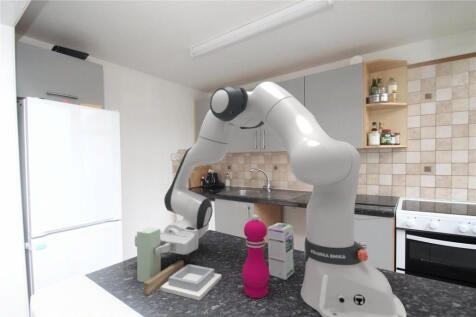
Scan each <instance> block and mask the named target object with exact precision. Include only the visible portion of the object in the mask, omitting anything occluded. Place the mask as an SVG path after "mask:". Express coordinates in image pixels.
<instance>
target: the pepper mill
mask: <svg viewBox="0 0 476 317" xmlns="http://www.w3.org/2000/svg"><path fill="white" fill-rule="evenodd" d="M259 218H260V217H259V216H258V214H252V216H251V220H249V221H247V222H246V223H245V225H244V226H243V234H244V236H245V237H246V239H245V245H246V247H247V257H246V260H245V263H244V264H243V267H242V272H241V278H242V280H243V282H244V284H243V292H244V294H245V295H246V296H247V297H250V298H255V299H259V298H263V297H265V296H266V295H267V294H269V284H268V281H270V278H271V275H270V273H269V265H268V263H267V262H266V260H265V255H264V247H265V245H266V239H265V237H266V236H267V235H268V227H267V225H266V224H265V223H264V222H263V221H262V220H259Z"/></svg>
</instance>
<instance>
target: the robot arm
mask: <svg viewBox="0 0 476 317" xmlns="http://www.w3.org/2000/svg"><path fill="white" fill-rule="evenodd" d="M209 108H210V109H209V110H208V111H207V112H206V115H205V117H204V119H203V122H202V124H201V127H200V130H199V133H198V137H197V139H196V142H195V143H194V145H193V146H192V147H189V148H187V150H186V151H185V153H184V155H183V156H182V158H181V161H180V163H179V166H178V168H177V170H176V173H175V175H174V177H173V180H172V182H171V185H170V186H169V188H168V190H167V192H166V193H165V195H164V199H163V200H164V202H163V203H164V206H165V208H166V210H167V211H168V212H171V213H174V214H177V215H179V216H180V217H182V218H183V219H181V220H179V221H177V222H174V223H171V224H169V225H167V226H166V227H165V228H164V230H163V231H161V230H160V246H157V247H155V248H153V254H156V255H158V254H160V255H161V254H164V253H173V254H179V255H188V254H190V253H192V252H193V251H196V250H198V249H199V239H200V238H202V237H203V236H204V235H205V234H206V233H207V232H208V230H209V225H210V224H209V223H210V221H211V218H212V215H213V209H214V208H213V204H212V202H211V199H209V198H208V197H206V196H204V195H202V194H200V193H197V192H194V191H191V190H190V189H188V187H187V185H188V182H189V179H190V178H191V175H192V173H193V171H194V169H195V168H196V167H197V166H199V165H212V164H217V163H219V162H221V161H223V159H224V158H225V157H226V156H227V152H228V149H229V146H230V142H231V138H232V136H233V135H232V134H233V132H234V131H235V130H236V129H238V128H240V129H241V130H251V129H259V128H260V127H262V126H264V125H265V126H266V127H267V128H268V130H269V131H270V132H271V134H273V135H274V136H275V138H276V139H278V141H279V143H281V145H282V146H283V148H284V150H285V151H286V153H287V156H289V157H288V158H289V163H290V164H289V166H290V170H291V172H292V174H293V175H294V177H295V178H296V179H297V180H298V181H299V182H301V183H302V184H306V185H310V186H313V187H312V191H311V196H310V198H309V200H308V203H307V205H306V207H305V208H306V214H305V216H306V218H305V219H306V223H305V224H306V225H305V226H306V236H305V239H304V242H303V243H304V247H303V248H304V261H305V269H304V270H305V271H304V275H303V276H304V278H303V281H302V282H303V283H302V285H301V289H300V296H301V298H302V300H303V301H304V302H305V303H306V305H308V306H310V308H313V309H314V310H316V311H317V312H318V313H319V315H320V316H321V317H407V312H406V309H405V306H404V305H403V303H402V301H401V300H400V298H399V297H397V295H396V294H394V293H393V290H392V286H391V284H390V283H389V280H388V279H387V277H386V276H385V274H384V273H382V272H381V271H380V270H378V269H377V268H376V267H375V266H373V265H372V264H371V263H370V262H369V261H367V260H369V255H368V252H367V251H366V250H365V247H364V246H363V244H361V242H359V243H358V242H357V241H355V206H356V205H355V204H356V199H357V193H358V187H359V186H358V185H359V179H360V178H359V176H360V169H361V166H362V157H361V154H360V152H359V151H358V149H356V148H355V147H354V145H352V144H351V143H349V142H346V141H342V140H336V139H335V138H332V137H331V136H329V135H328V134H327V132H325V131H324V130H323V128H322V127H321V126H320V124H319V122H318V121H317V120H316V117H315V115H314V114H313V113H312V112H311V111H309V110H308V109H307V107H305V106H304V105H303V104H302V102H300V101H299V100H298V98H296V97H295V96H293V94H291V93H290V92H289V91H288V90H286V89H285V88H284V87H282V86H280V85H279V84H277V83H275V82H274V81H269V80H268V81H263V82H260V83H259V84H257V86H256V87H255V88H254V89H253V90H252V91H246V89H245V88H244V87H240V86H239V87H238V86H234V85H222V86H220V87H217V88H216V90H214V91H213V93H212V95H211V97H210V101H209ZM134 246H135V247H136V248H137V234H135V237H134Z"/></svg>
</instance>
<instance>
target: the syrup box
mask: <svg viewBox="0 0 476 317" xmlns="http://www.w3.org/2000/svg"><path fill="white" fill-rule="evenodd" d="M294 245H295V244H294V225H293V224H290V223H284V222H276V223H275V224H272V225H269V226H268V227H267V246H268V247H267V248H268V250H267V256H268V268H269V273H270V276H273V277H276V278H278V279H282V280H286V281H287V280H288V278H290V277H291V276H292V275H293V274H294V273H295V254H294V253H295V249H294V248H295V247H294Z"/></svg>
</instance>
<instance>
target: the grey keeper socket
mask: <svg viewBox="0 0 476 317" xmlns="http://www.w3.org/2000/svg"><path fill="white" fill-rule="evenodd" d="M222 278H223V277H222V274H220V273H215V268H210V267H205V266H200V265H195V264H189V263H188V264H186V265H185V266H184V267H183V268H182V269H180V270H179V271H178V272H176V273H175V274H173V275H172V276H170V277H169V281H168V282H166V283H165V284H164V285H162V286H161V287H160V288H159V290H160V291H161V292H164V293H168V294H172V295H177V296H179V297H184V298H189V299H192V300H196V301H200V300H202V299H203V297H204V296H206V295H207V294H208V293H209V291H210V290H212V289H213V287H215V285H217V284H218V282H219V281H220V280H221V279H222Z"/></svg>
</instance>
